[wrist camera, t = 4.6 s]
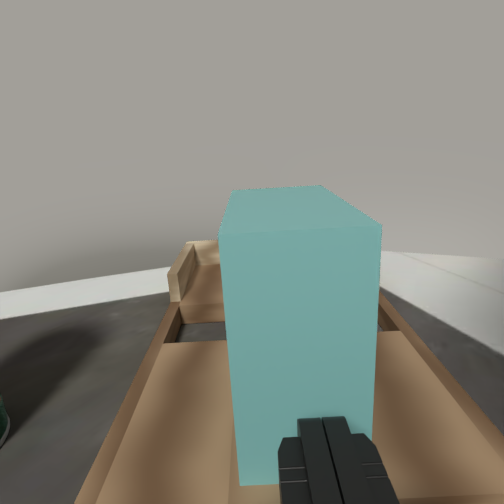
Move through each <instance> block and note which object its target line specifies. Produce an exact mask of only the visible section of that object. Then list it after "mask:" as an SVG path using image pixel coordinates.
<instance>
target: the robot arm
mask: <svg viewBox="0 0 504 504" xmlns="http://www.w3.org/2000/svg"><path fill="white" fill-rule="evenodd" d="M278 472H279V491H280V503H281V504H400V503H399V500H398V498H397V496H396V493H395V491H394V488H393V486H392V483H391V481H390V479H389V478H388V474H387V471H386V469H385V466H384V465H383V462H382V459H381V457H380V454H379V452H378V450H377V447H376V445H375V444H374V443H373V442H372V441H371V440H370V439H369V438H368V437H367V436H366V435H365V434H364V433H356V434H351V432H350V429H349V426H348V423H347V421H346V418H345V416H335V417H321V418H320V417H318V418H299V419H297V437H283V439H282V441H281V444H280V446H279V449H278Z"/></svg>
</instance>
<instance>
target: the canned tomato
mask: <svg viewBox="0 0 504 504" xmlns="http://www.w3.org/2000/svg"><path fill="white" fill-rule="evenodd" d="M9 429H10V418H9V416H8V415H7V413H6V410H5V406H4V403H3V398H2V396H1V394H0V447H1V445H2V444H3V442H4V441H5V439H6V437H7V435H8V433H9Z"/></svg>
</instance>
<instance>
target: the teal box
mask: <svg viewBox="0 0 504 504" xmlns="http://www.w3.org/2000/svg"><path fill="white" fill-rule="evenodd" d="M381 236H382V225H381V224H379V223H378V222H376V221H375V220H373V219H372V218H370V217H369V216H367V215H366V214H364V213H363V212H361V211H359V210H358V209H356V208H355V207H353V206H352V205H350V204H349V203H347V202H346V201H344V200H343V199H341V198H340V197H338V196H337V195H335V194H333V193H332V192H330V191H329V190H327V189H326V188H324V187H323V186H321V185H318V186H300V187H283V188H266V189H249V190H233V191H232V193H231V196H230V199H229V202H228V205H227V208H226V211H225V214H224V217H223V220H222V223H221V227H220V229H219V232H218V244H219V255H220V267H221V278H222V289H223V301H224V312H225V324H226V335H227V346H228V358H229V369H230V381H231V392H232V403H233V415H234V426H235V437H236V449H237V460H238V472H239V483H240V486H248V485H268V484H279V472H278V449H279V446H280V444H281V441H282V439H283V437H297V419H299V418H318V417H320V418H321V417H335V416H345V418H346V421H347V423H348V426H349V429H350V432H351V434H356V433H364V434H365V435H366V436H367V437H368V438H369V439H370V440H371V441H372V423H373V403H374V382H375V361H376V340H377V319H378V299H379V278H380V257H381Z"/></svg>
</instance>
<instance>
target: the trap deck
mask: <svg viewBox="0 0 504 504" xmlns="http://www.w3.org/2000/svg"><path fill="white" fill-rule="evenodd" d="M167 277H168V284H169V292H170V299H171V303H170V305H169V307H168V309H167V311H166V313H165V315H164V317H163V319H162V321H161V324H160V326H159V328H158V330H157V332H156V334H155V336H154V338H153V340H152V342H151V344H150V346H149V349H148V351H147V353H146V355H145V357H144V359H143V361H142V363H141V365H140V367H139V369H138V371H137V373H136V376H135V378H134V380H133V382H132V384H131V386H130V388H129V390H128V392H127V394H126V396H125V398H124V401H123V403H122V405H121V407H120V409H119V411H118V413H117V415H116V417H115V419H114V421H113V423H112V425H111V428H110V430H109V432H108V434H107V436H106V438H105V440H104V442H103V444H102V446H101V448H100V450H99V453H98V455H97V457H96V459H95V461H94V463H93V465H92V467H91V469H90V471H89V473H88V475H87V478H86V480H85V482H84V484H83V486H82V488H81V490H80V492H79V494H78V496H77V498H76V500H75V502H74V504H281V503H280V491H279V484H268V485H248V486H240V483H239V472H238V460H237V449H236V437H235V426H234V415H233V403H232V392H231V381H230V369H229V358H228V346H227V340H220V341H201V342H183V343H174V342H175V340H176V337H177V334H178V331H179V329H180V326H181V324H188V323H207V322H225V312H224V301H223V289H222V278H221V267H220V255H219V244H218V240H207V241H188V242H186V244H185V246H184V247H183V249H182V251H181V252H180V254H179V256H178V257H177V259H176V261H175V262H174V264H173V265H172V267H171V269H170V270H169V272H168V274H167ZM379 281H380V278H379ZM377 322H378V323H379V325H380V326H381V328H382V329H383V331H384V332H377V340H376V361H375V382H374V403H373V423H372V442H373V443H374V444H375V445H376V447H377V450H378V452H379V454H380V457H381V459H382V462H383V465H384V466H385V469H386V471H387V474H388V478H389V479H390V481H391V483H392V486H393V488H394V491H395V493H396V496H397V498H398V500H399V503H400V504H504V436H503V435H502V433H501V432H500V431H499V430H498V429H497V428H496V426H495V425H494V424H493V423H492V422H491V421H490V419H489V418H488V417H487V416H486V415H485V414H484V412H483V411H482V410H481V409H480V408H479V407H478V405H477V404H476V403H475V402H474V401H473V400H472V398H471V397H470V396H469V395H468V394H467V393H466V391H465V390H464V389H463V388H462V387H461V386H460V384H459V383H458V382H457V381H456V380H455V378H454V377H453V376H452V375H451V374H450V373H449V371H448V370H447V369H446V368H445V367H444V366H443V364H442V363H441V362H440V361H439V360H438V359H437V357H436V356H435V355H434V354H433V353H432V352H431V350H430V349H429V348H428V347H427V346H426V345H425V343H424V342H423V341H422V340H421V339H420V338H419V336H418V335H417V334H416V333H415V332H414V331H413V329H412V328H411V327H410V326H409V325H408V324H407V322H406V321H405V320H404V319H403V318H402V317H401V315H400V314H399V313H398V312H397V311H396V310H395V308H394V307H393V306H392V305H391V304H390V303H389V301H388V300H387V299H386V298H385V297H384V296H383V294H382V293H381V292H380V291H379V299H378V319H377Z"/></svg>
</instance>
